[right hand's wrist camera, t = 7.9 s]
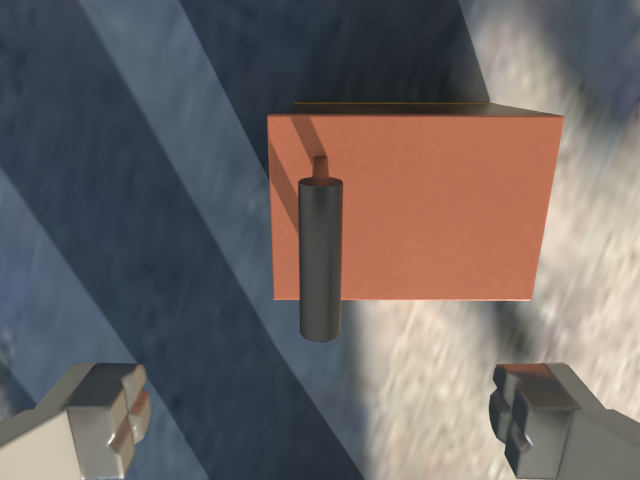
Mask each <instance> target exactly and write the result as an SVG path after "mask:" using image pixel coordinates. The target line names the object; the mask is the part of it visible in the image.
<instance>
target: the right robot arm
mask: <svg viewBox="0 0 640 480" xmlns="http://www.w3.org/2000/svg"><path fill="white" fill-rule="evenodd" d="M146 381H147V376H146V371H145V367H144V366H143V365H142V364H129V363H76V364H73V365H72V366H71V367H70V368H69V369H68V370H67V371H66V372H65V374H64V375H63V376H62V377H61V378H60V379H59V381H58V382H57V383H56V384H55V385H54V386H53V388H52V389H51V390H50V391H49V392H48V393H47V395H46V396H45V397H44V398H43V399H42V400H41V402H40V403H39V404H38V405H37V406H36V407H35V408H34V410H25V411H23V412H21V413H19V414H17V415H15V416H13V417H11V418H9V419H7V420H5V421H3V422H2V423H0V480H96V479H124V477H125V475H126V473H127V470H128V468H129V466H130V464H131V462H132V460H133V458H134V456H135V454H136V452H135V446H134V444H136V443H137V442H139V441H140V440H141V439H143V438H144V436H145V433H146V431H147V429H148V426H149V421H150V416H151V401H150V395H149V394H148V393H147V392H146V391H145V390H144V389H143V386H144V384H145V382H146ZM493 381H494V382H495V384H496V386H497V389H496V390H495V391H494V392H493V393H492V394H491V395H490V402H489V415H490V422H491V425H492V429H493V431H494V433H495V436H496V438H497V439H499V440H500V441H501V442H503V443H504V444H506V447H505V453H504V454H505V456H506V458H507V460H508V462H509V464H510V466H511V468H512V470H513V472H514V474H515V476H516V478H517V479H544V480H640V423H638V422H637V421H635V420H633V419H631V418H629V417H627V416H625V415H623V414H621V413H619V412H617V411H615V410H606V408H605V407H604V406H603V405H602V404H601V403H600V402H599V400H598V399H597V398H596V397H595V396H594V395H593V393H592V392H591V391H590V390H589V389H588V388H587V386H586V385H585V384H584V383H583V382H582V381H581V379H580V378H579V377H578V376H577V375H576V374H575V373H574V371H573V370H572V369H571V368H570V367H569V366H568V365H567V364H565V363H541V364H497V366H496V368H495V370H494V375H493Z"/></svg>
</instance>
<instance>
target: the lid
mask: <svg viewBox="0 0 640 480" xmlns="http://www.w3.org/2000/svg"><path fill="white" fill-rule="evenodd" d="M563 123H564V116H561V115H539V114H269V115H268V116H267V129H268V156H269V184H270V211H271V238H272V265H273V292H274V299H275V300H300V333H301V335H302V336H303V337H304V338H305V339H307V340H309V341H313V342H328V341H331V340H334V339H335V338H337V337H338V336H339V334H340V325H341V300H532V294H533V288H534V283H535V277H536V272H537V266H538V261H539V255H540V250H541V244H542V239H543V233H544V228H545V222H546V217H547V211H548V205H549V200H550V194H551V189H552V183H553V178H554V172H555V167H556V161H557V156H558V150H559V145H560V139H561V134H562V128H563Z"/></svg>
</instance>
